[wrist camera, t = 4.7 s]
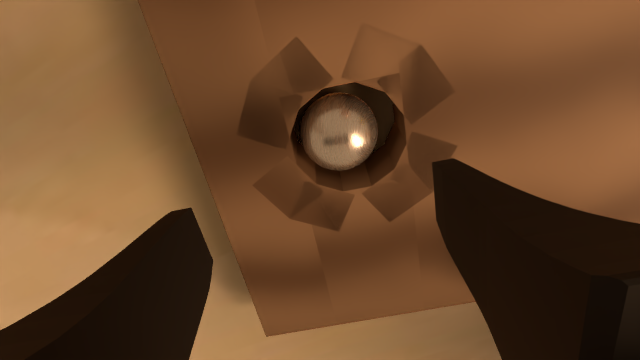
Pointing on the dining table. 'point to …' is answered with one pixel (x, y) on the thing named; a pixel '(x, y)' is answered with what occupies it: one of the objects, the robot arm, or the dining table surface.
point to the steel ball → (338, 131)
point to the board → (396, 132)
